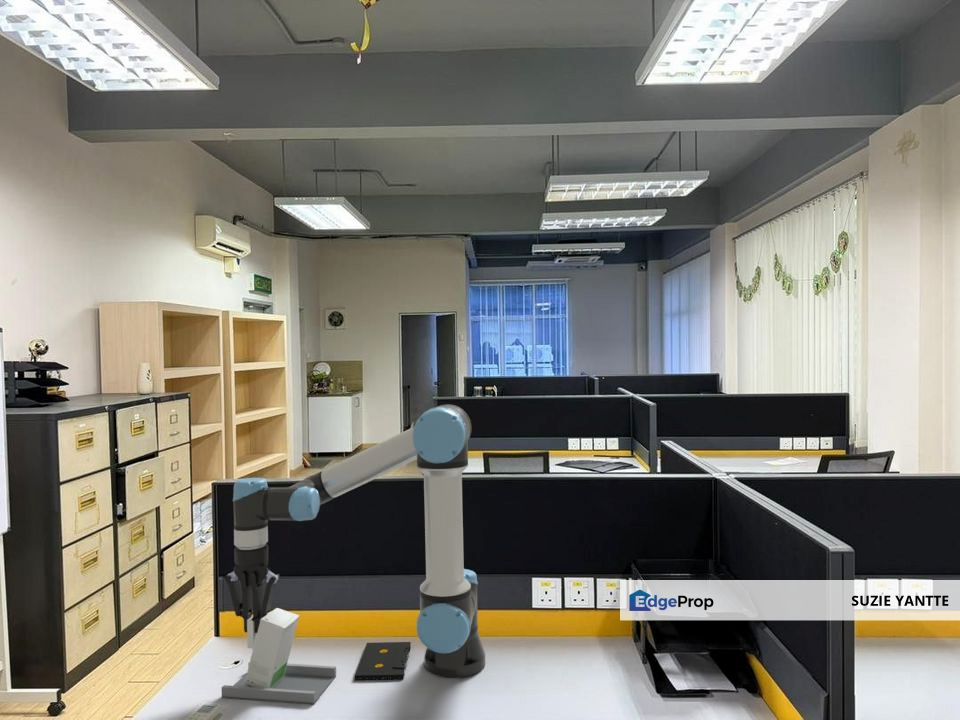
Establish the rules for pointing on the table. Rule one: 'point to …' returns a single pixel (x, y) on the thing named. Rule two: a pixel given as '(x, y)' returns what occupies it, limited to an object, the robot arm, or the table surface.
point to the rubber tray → (287, 685)
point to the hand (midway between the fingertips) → (253, 645)
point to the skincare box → (271, 648)
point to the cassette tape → (383, 661)
